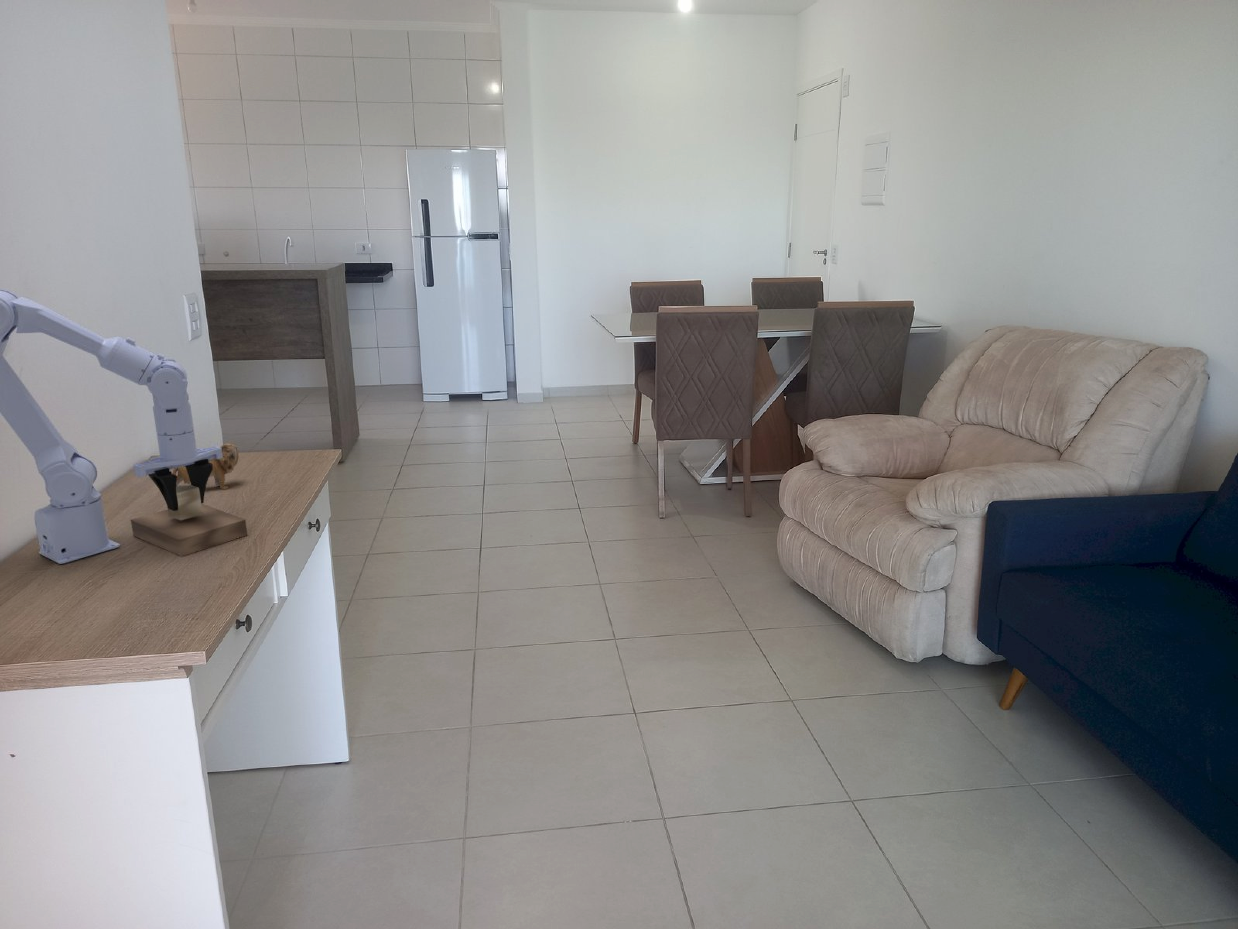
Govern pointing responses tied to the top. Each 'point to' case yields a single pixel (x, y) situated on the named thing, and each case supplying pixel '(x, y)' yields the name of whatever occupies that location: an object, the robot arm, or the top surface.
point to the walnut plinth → (189, 530)
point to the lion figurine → (214, 466)
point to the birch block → (187, 502)
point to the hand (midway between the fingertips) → (186, 505)
